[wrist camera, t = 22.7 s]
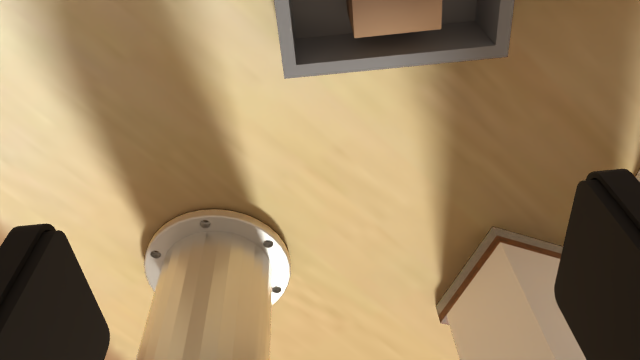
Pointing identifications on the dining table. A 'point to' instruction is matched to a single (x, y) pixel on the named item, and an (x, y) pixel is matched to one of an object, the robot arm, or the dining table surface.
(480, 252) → the white banded pillar
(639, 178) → the light bulb box
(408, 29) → the cube
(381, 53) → the tote
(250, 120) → the dining table surface
